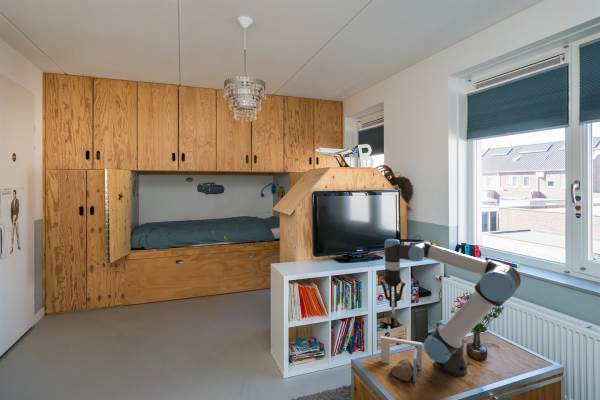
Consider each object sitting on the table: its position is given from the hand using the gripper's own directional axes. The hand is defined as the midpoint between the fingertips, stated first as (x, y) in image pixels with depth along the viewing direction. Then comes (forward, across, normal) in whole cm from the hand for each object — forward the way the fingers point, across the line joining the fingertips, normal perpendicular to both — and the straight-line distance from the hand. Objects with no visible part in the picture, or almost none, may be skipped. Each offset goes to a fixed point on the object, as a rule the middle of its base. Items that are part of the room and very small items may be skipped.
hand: (393, 312), depth 163 cm
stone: (+26, -4, +13) cm, 29 cm away
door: (+25, -11, +11) cm, 30 cm away
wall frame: (+25, -3, +4) cm, 26 cm away
